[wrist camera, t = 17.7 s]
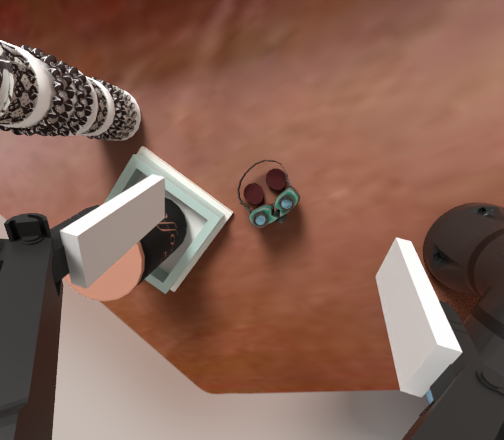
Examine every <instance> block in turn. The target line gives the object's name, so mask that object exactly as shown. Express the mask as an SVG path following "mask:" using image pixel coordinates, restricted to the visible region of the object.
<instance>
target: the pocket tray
mask: <svg viewBox="0 0 504 440" xmlns="http://www.w3.org/2000/svg"><path fill="white" fill-rule="evenodd" d="M152 174H154V175H158V176H162V177H165V197H166V198H168V199H170V200H172V201H173V202H174V203H175V204H177V205H178V206H179V207H180V209H181V210H182V212H183V214H184V215H185V219H186V223H187V232H186V236H185V239H184V241H183V243H182V244H181V245H180V246H179V247H178V248H177V249H176V250H175V251H174V252H173V253H172V254H171V255H170V256H169V257H168V258H167V259H166V260H165V261H164V262H162V263H161V264H160V265H159V266H158V267H157V268H156V269H155V270H154V271H153V272H152V273H151V274H150V275H149V276H147V277H146V278H145V280H146V281H147V282H149V283H150V284H152V285H153V286H155V287H156V288H157V289H159V290H160V291H162V292H163V293H165V294H166V293H167V292H168V291H169V289H170V290H172V291H173V292H175V291H176V289H177V288H178V287H179V285H180V284H181V283H182V281H183V280H184V279H185V277H186V276H187V274H188V273H189V272H190V270H191V269H192V268H193V266H194V265H195V264H196V262H197V261H198V260H199V258H200V257H201V255H202V254H203V253H204V251H205V250H206V249H207V247H208V246H209V245H210V243H211V242H212V241H213V239H214V238H215V236H216V235H217V234H218V232H219V231H220V230H221V228H222V227H223V226H224V224H225V223H226V222H227V220H228V219H229V217H230V216H231V215H232V213H233V211H231V210H230V209H229V208H227V207H226V206H224V205H223V204H222V203H220V202H219V201H218V200H216V199H215V198H214V197H212V196H211V195H210V194H208V193H207V192H205V191H204V190H203V189H201V188H200V187H199V186H197V185H196V184H195V183H193V182H192V181H191V180H189V179H188V178H186V177H185V176H184V175H182V174H181V173H180V172H178V171H177V170H176V169H174V168H173V167H172V166H170V165H169V164H167V163H166V162H165V161H163V160H162V159H161V158H159V157H158V156H157V155H155V154H154V153H153V152H151V151H150V150H148V149H147V148H146V147H144V146H141V148H140V149H139V151H138V153H137V154H133V155H132V157H131V159H130V160H129V162H128V164H127V165H126V167H125V169H124V170H123V172H122V174H121V175H120V177H119V179H118V180H117V182H116V184H115V186H114V187H113V189H112V191H111V192H110V194H109V196H108V197H107V199H106V201H105V202H104V203H106V202H108V201H109V200H111V199H113V198H114V197H116V196H118V195H119V194H121V193H123V192H124V191H126V190H127V189H129V188H131V187H132V186H134V185H136V184H137V183H139V182H141V181H142V180H144V179H146V178H147V177H149V176H151V175H152Z"/></svg>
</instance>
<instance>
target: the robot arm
mask: <svg viewBox="0 0 504 440" xmlns="http://www.w3.org/2000/svg"><path fill="white" fill-rule="evenodd" d="M164 218H165V177H162V176H158V175H154V174H152V175H151V176H149V177H147V178H146V179H144V180H142V181H141V182H139V183H137V184H136V185H134V186H132V187H131V188H129V189H127V190H126V191H124V192H123V193H121V194H119V195H118V196H116V197H114V198H113V199H111V200H109V201H108V202H106V203H104V204H103V205H101V206H100V205H96V206H93V207H89V208H86V209H84V210H83V211H81V212H79V213H78V214H76V215H74V216H72V217H71V219H67V220H66V221H64V222H62V223H60V224H59V225H57V226H55V227H54V228H52V229H49V225H48V221H47V217H46V216H44V215H42V214H37V213H28V214H21V215H18V216H14V217H12V218H10V219H8V220H7V221H6V222H5V223H4V226H5V228H6V231H7V234H8V237H9V239H0V440H52V429H53V414H54V402H55V389H56V375H57V362H58V348H59V333H60V321H61V308H62V294H63V282H62V278H64V277H65V276H66V275H68V274H69V275H70V280H71V284H74V285H77V286H80V287H83V288H86V289H87V288H88V287H89V286H91V285H92V284H93V283H94V282H95V281H96V280H97V279H98V278H99V277H100V276H101V275H103V274H104V273H105V272H106V271H107V270H108V269H109V268H110V267H111V266H112V265H113V264H115V263H116V262H117V261H118V260H119V259H120V258H121V257H122V256H123V255H124V254H126V253H127V252H128V251H129V250H130V249H131V248H132V247H133V246H134V245H135V244H136V243H138V242H139V241H140V240H141V239H142V238H143V237H144V236H145V235H146V234H147V233H148V232H150V231H151V230H152V229H153V228H154V227H155V226H156V225H157V224H158V223H159V222H160V221H162V220H163V219H164ZM423 256H424V261H425V264H426V266H427V268H428V270H429V272H430V273H431V274H432V275H433V276H434V277H435V278H436V279H437V280H438V281H439V282H441V283H442V284H443V285H445V286H446V287H448V288H450V289H452V290H454V291H457V292H460V293H464V294H468V295H472V296H476V297H480V298H481V299H480V300H479V301H478V303H477V304H476V306H475V307H474V308H473V310H472V311H471V312H470V313H469V315H468V316H467V317H466V319H465V320H464V321H463V323H462V321H461V319H460V317H459V315H458V313H457V312H456V311H455V310H454V309H453V308H452V307H451V306H450V305H449V304H448V303H446V302H442V301H439V300H438V298H437V296H436V294H435V292H434V290H433V288H432V285H431V283H430V281H429V279H428V277H427V275H426V272H425V270H424V268H423V266H422V264H421V262H420V260H419V257H418V255H417V253H416V251H415V249H414V247H413V245H412V242H411V241H408V240H404V239H400V238H395V240H394V242H393V244H392V246H391V248H390V250H389V252H388V254H387V256H386V258H385V259H384V261H383V263H382V265H381V267H380V269H379V271H378V273H377V275H376V281H377V285H378V290H379V295H380V299H381V304H382V308H383V313H384V318H385V322H386V327H387V331H388V336H389V340H390V345H391V350H392V354H393V359H394V363H395V368H396V372H397V377H398V382H399V386H400V391H402V392H406V393H409V394H412V395H415V396H418V397H421V398H422V397H423V396H424V395H426V398H427V401H428V403H429V405H428V407H427V408H426V409H425V410H424V411H423V412H422V413H421V414H420V417H419V418H418V420H417V421H416V422H415V424H414V425H413V426H412V427H411V429H410V430H409V431H408V433H407V434H406V435H405V436H404V438H403V439H402V440H504V208H503V207H500V206H495V205H491V204H486V203H469V204H464V205H461V206H458V207H455V208H453V209H451V210H449V211H448V212H446V213H445V214H443V215H442V216H441V217H440V218H439V219H438V220H437V221H436V222H435V223H434V224H433V225H432V227H431V228H430V230H429V232H428V234H427V236H426V238H425V242H424V247H423Z"/></svg>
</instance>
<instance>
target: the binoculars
mask: <svg viewBox="0 0 504 440" xmlns="http://www.w3.org/2000/svg"><path fill="white" fill-rule="evenodd" d="M264 161H271V162H276V163H278V164H280V165H281V166H282V164H281V163H279V162H277V161H273V160H263V161H260V162H258V163H255V164H254V165H253V166H252V167H250V168H249V169H248V170H247V171H246V172H245V173H244V175H243V176H242V178H241V180H240V182H239V186H238V198H239V200H240V202H241V203H240V204H242V205H244V206H245V208H246V209H247V210H248V211H249V212H250V215H249V219H250V221H251V223H252V225H253V226H255V227H257V228H262V227H264V226H265V225H268V224H270V223H272V222H274V221H275V222H276V223H279V224H280V223H283V222H284V221H286V218H287V217H286V216H287V214H286V213H288V212H289V211H291V210H292V209H293V208H294V207H295V206H296V205H297V204H298V202H299V199H300V196H299V194H298V191H297V190H295V189H294V188H293V187H291V185H290V183H289V179H288V174H287V175H285V174H286V172H285V173H284V172H283V171H282V170H280V169H272V170H270V171H269V172H268V173H267V175H266V182H267V184H268V185H269V186H270V187H271V188H273V189H276V190H280V189H281V191H282V193H281V194H279V195H278V196H277V198H275V202H274V203H275V204H274V203H273V204H274V206H275V208H276V209H278V210H276V211H274V206H273V204H268V203H267V204H264V205H263V204H262V203H261V201H262V199H263V190H262V188H261V187H260V186H259V185H258V184H255V183H252V184H249V185H247V186H246V187H245V189H244V197H245V199H246V200H247V201H248V202H250V203H252V204H258V206H259V207H258V208H256V209H254V210H251V209H250V207H249V206H248V205H247V204H245V203H243V202H242V200H241V198H240V192H239V189H240V185H241V181H242V179H243V178H244V176H245V175H246V173H247V172H248V171H249V170H250V169H251V168H253V167H254V166H255V165H256V164H259V163H261V162H264ZM282 167H283V166H282ZM283 169H284V167H283ZM284 171H285V169H284ZM287 179H288V180H287ZM286 181H287V183H288V185H289V187H290V188H289V187H288V188H287V189H285V185H286ZM248 208H249V209H248Z"/></svg>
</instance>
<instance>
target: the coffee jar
mask: <svg viewBox="0 0 504 440" xmlns="http://www.w3.org/2000/svg"><path fill="white" fill-rule="evenodd" d="M186 232H187V223H186V219H185V215H184V214H183V212H182V210H181V209H180V207H179V206H178V205H177V204H175V203H174V202H173V201H172V200H170V199H168V198H166V197H165V218H164V219H163V220H162V221H160V222H159V223H158V224H157V225H156V226H155V227H154V228H153V229H152V230H151V231H150V232H148V233H147V234H146V235H145V236H144V237H143V238H142V239H141V240H140V241H139V242H138V243H136V244H135V245H134V246H133V247H132V248H131V249H130V250H129V251H128V252H127V253H126V254H124V255H123V256H122V257H121V258H120V259H119V260H118V261H117V262H116V263H115V264H113V265H112V266H111V267H110V268H109V269H108V270H107V271H106V272H105V273H104V274H103V275H101V276H100V277H99V278H98V279H97V280H96V281H95V282H94V283H93V284H92V285H91V286H89V287H88V288H87V289H86V288H83V287H80V286H77V285H74V284H71V280H70V275H69V274H68V275H66V276H65V277H64V279H65V281H66V282H67V283H68V285H69V286H71V287H72V288H73V289H74V290H75V291H77V292H78V293H79V294H81V295H84V296H86V297H88V298H90V299H94V300H100V301H109V300H116V299H119V298H121V297H123V296H125V295H127V294H129V293H130V292H131V291H132V290H133V288H134V287H135V286H136V285H138V284H140V283H141V282H142V281H143V280H144V279H145V278H146V277H147V276H149V275H150V274H151V273H152V272H153V271H154V270H155V269H156V268H157V267H158V266H159V265H160V264H161V263H162V262H164V261H165V260H166V259H167V258H168V257H169V256H170V255H171V254H172V253H173V252H174V251H175V250H176V249H177V248H178V247H179V246H180V245H181V244H182V243H183V241H184V239H185V236H186Z"/></svg>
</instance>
